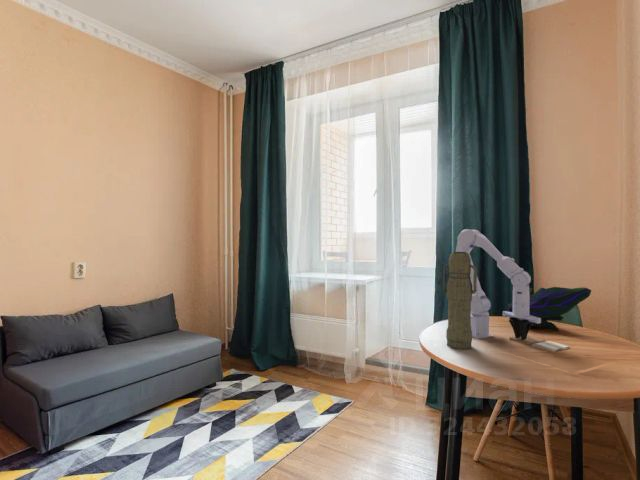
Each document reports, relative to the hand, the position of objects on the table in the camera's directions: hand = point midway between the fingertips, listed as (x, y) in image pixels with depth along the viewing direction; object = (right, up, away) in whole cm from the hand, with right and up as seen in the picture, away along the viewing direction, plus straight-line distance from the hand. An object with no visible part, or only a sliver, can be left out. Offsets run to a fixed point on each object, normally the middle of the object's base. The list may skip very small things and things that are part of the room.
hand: (520, 338), depth 143 cm
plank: (+3, -2, +1) cm, 3 cm away
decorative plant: (+23, -2, +25) cm, 34 cm away
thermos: (-25, -2, -5) cm, 26 cm away
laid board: (+7, -2, -7) cm, 10 cm away
